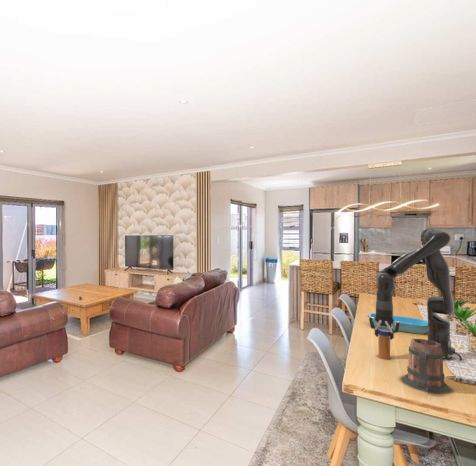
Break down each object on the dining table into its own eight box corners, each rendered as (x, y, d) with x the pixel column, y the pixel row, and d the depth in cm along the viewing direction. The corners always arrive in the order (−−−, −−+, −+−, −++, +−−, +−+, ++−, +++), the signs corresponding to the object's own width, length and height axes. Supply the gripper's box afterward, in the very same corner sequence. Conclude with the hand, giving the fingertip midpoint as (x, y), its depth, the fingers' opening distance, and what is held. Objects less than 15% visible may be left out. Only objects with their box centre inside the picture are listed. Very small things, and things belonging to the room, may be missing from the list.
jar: (391, 357, 185) (391, 334, 185) (387, 359, 182) (388, 336, 182) (380, 354, 189) (380, 332, 189) (376, 356, 186) (376, 333, 186)
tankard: (404, 372, 166) (404, 333, 166) (451, 384, 154) (452, 341, 153) (396, 389, 150) (396, 345, 150) (448, 403, 138) (449, 355, 137)
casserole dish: (430, 328, 235) (430, 318, 235) (436, 337, 217) (436, 326, 217) (366, 320, 256) (366, 311, 256) (366, 327, 238) (366, 318, 238)
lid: (393, 335, 184) (393, 331, 183) (385, 336, 182) (385, 332, 182) (382, 332, 189) (383, 328, 189) (375, 333, 188) (375, 329, 188)
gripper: (366, 306, 188) (366, 336, 189) (398, 311, 177) (398, 342, 178) (370, 304, 193) (370, 333, 194) (402, 309, 182) (402, 339, 182)
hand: (384, 337), depth 186 cm, fingers closed on lid, 5 cm apart
